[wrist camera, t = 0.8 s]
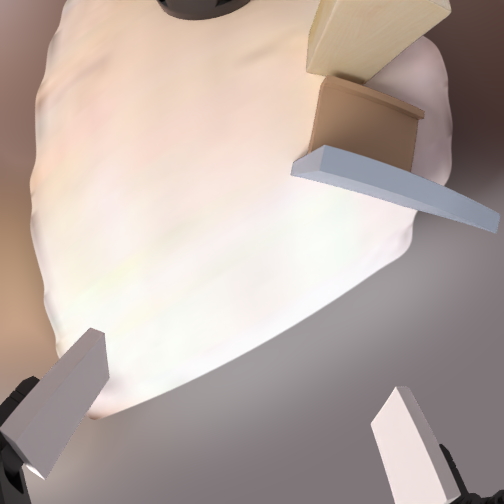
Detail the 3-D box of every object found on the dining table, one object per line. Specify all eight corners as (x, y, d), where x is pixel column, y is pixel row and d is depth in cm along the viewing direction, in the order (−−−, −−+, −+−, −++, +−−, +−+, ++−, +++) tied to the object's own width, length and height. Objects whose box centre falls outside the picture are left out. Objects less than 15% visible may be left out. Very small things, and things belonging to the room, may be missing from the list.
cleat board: (309, 82, 29) (346, 6, 12) (418, 120, 30) (508, 96, 12) (290, 175, 33) (319, 170, 15) (404, 206, 33) (496, 233, 15)
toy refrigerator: (365, 43, 27) (436, -41, 7) (364, 86, 29) (453, 14, 9) (309, 29, 27) (342, -76, 7) (305, 73, 29) (347, -30, 9)
